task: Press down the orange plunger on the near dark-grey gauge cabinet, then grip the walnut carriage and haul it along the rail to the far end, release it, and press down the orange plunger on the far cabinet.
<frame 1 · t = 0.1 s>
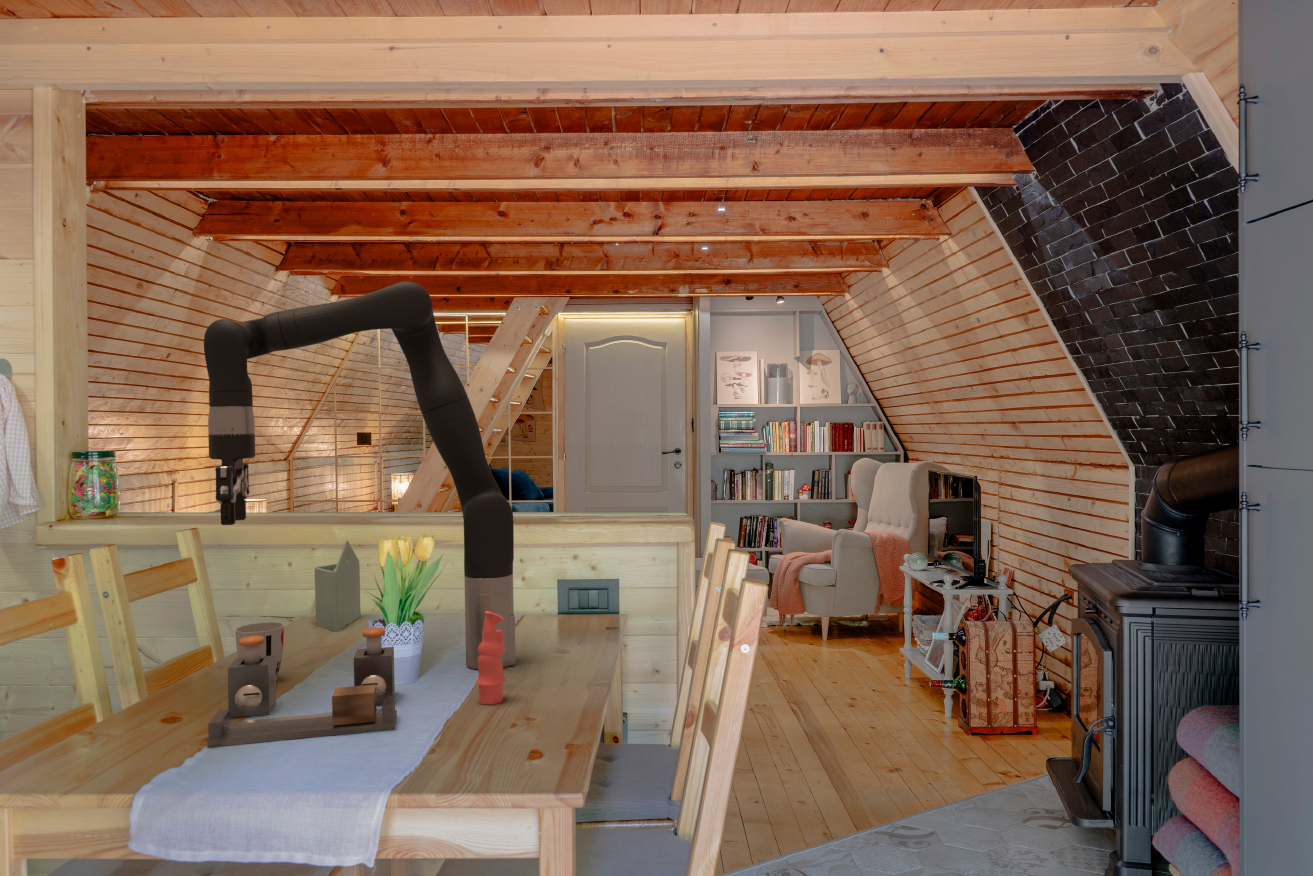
hand: (233, 522, 156), 29 cm above the table, fingers open, 8 cm apart
cabinet B: (253, 710, 142), on the table
carriage: (354, 704, 133), point 3 cm above the table, slide at 0.0 cm
plunger B: (251, 651, 142), point 10 cm above the table, slide at 0.0 cm
figurine: (491, 701, 145), on the table
cabinet A: (375, 699, 146), on the table
planter: (332, 625, 204), on the table
plunger A: (374, 642, 146), point 10 cm above the table, slide at 0.0 cm
cup: (261, 683, 158), on the table
rail: (306, 731, 131), on the table
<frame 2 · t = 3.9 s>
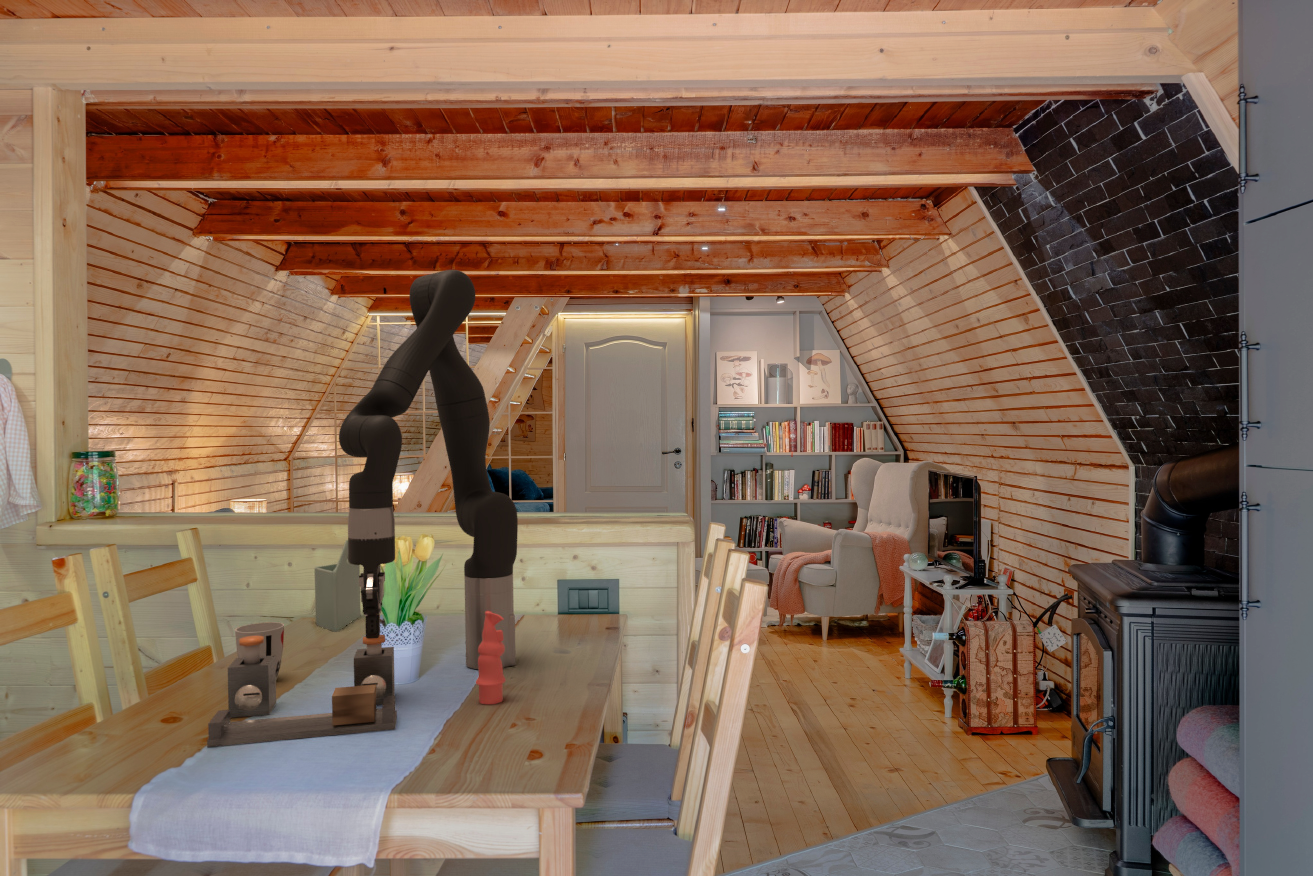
hand: (373, 637, 146), 11 cm above the table, fingers closed
plunger A: (374, 649, 146), point 8 cm above the table, slide at 1.2 cm, touching gripper
everything else where it was.
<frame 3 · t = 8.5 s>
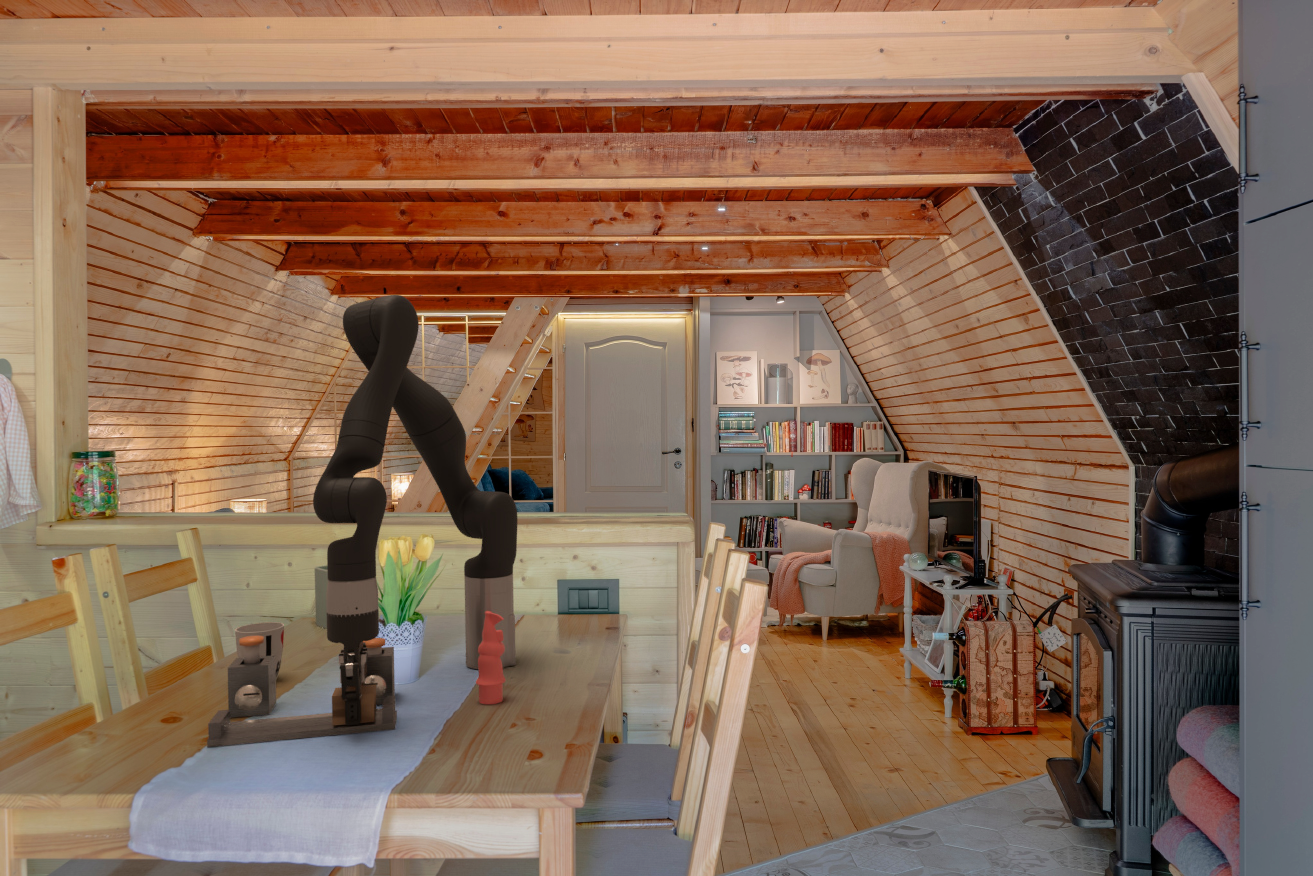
hand: (354, 718, 133), 1 cm above the table, fingers closed on carriage, 4 cm apart
carriage: (354, 704, 133), point 3 cm above the table, slide at 0.0 cm, touching gripper
plunger A: (374, 653, 146), point 8 cm above the table, slide at 1.8 cm
everything else where it was.
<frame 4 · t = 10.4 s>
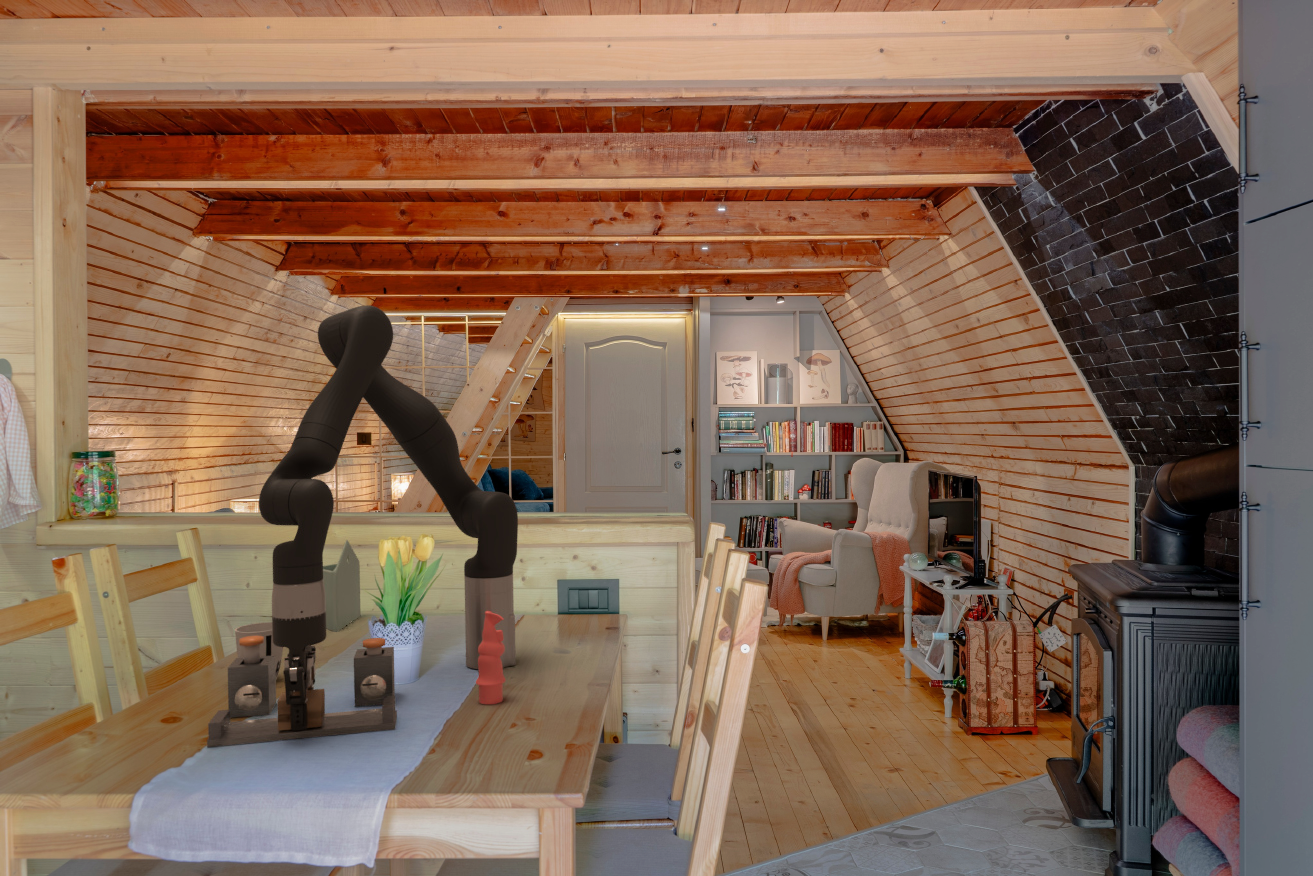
hand: (301, 723, 131), 1 cm above the table, fingers closed on carriage, 4 cm apart
carriage: (301, 709, 131), point 3 cm above the table, slide at 7.6 cm, touching gripper
everything else where it was.
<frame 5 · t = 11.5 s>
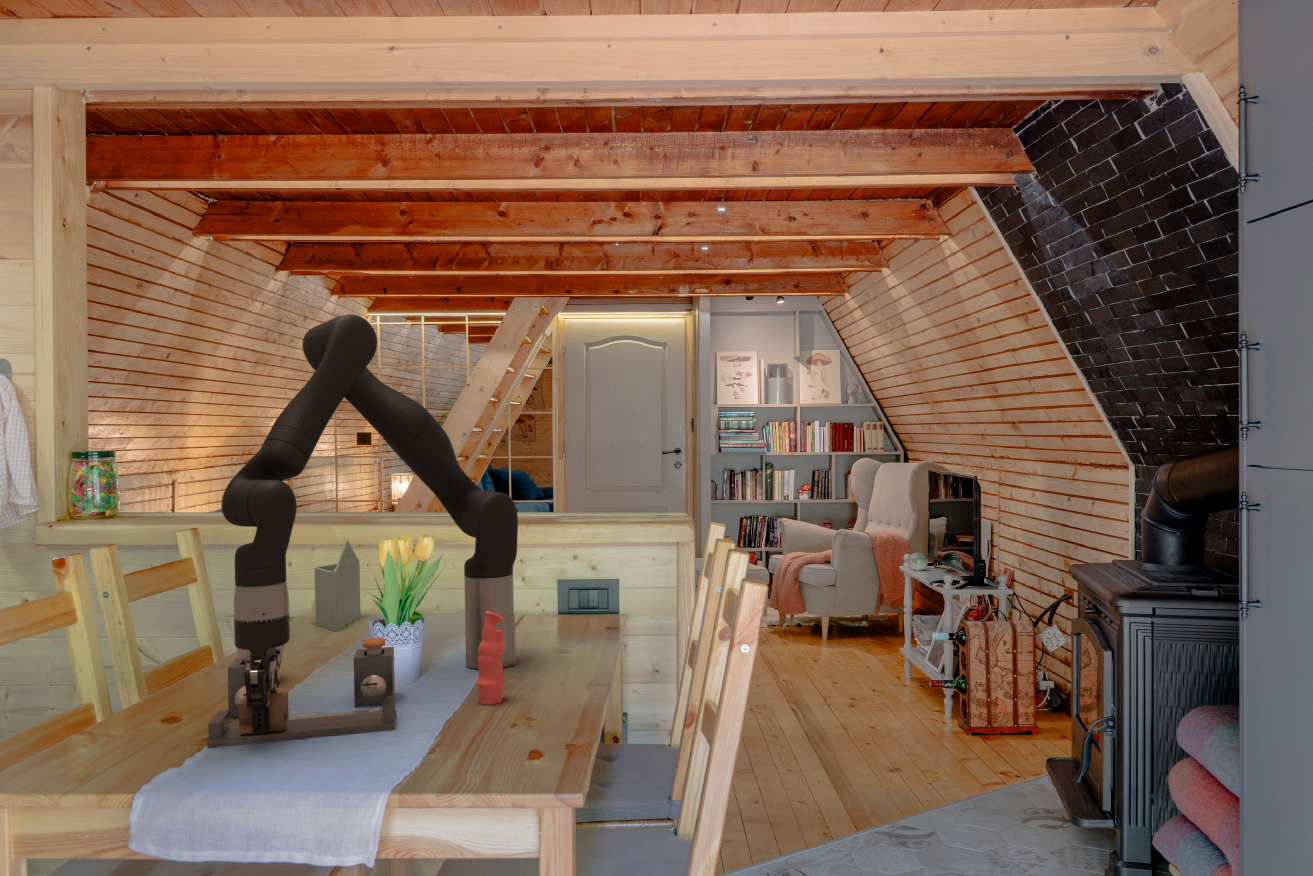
hand: (264, 726, 130), 1 cm above the table, fingers closed on carriage, 4 cm apart
carriage: (264, 712, 130), point 3 cm above the table, slide at 12.8 cm, touching gripper
everything else where it was.
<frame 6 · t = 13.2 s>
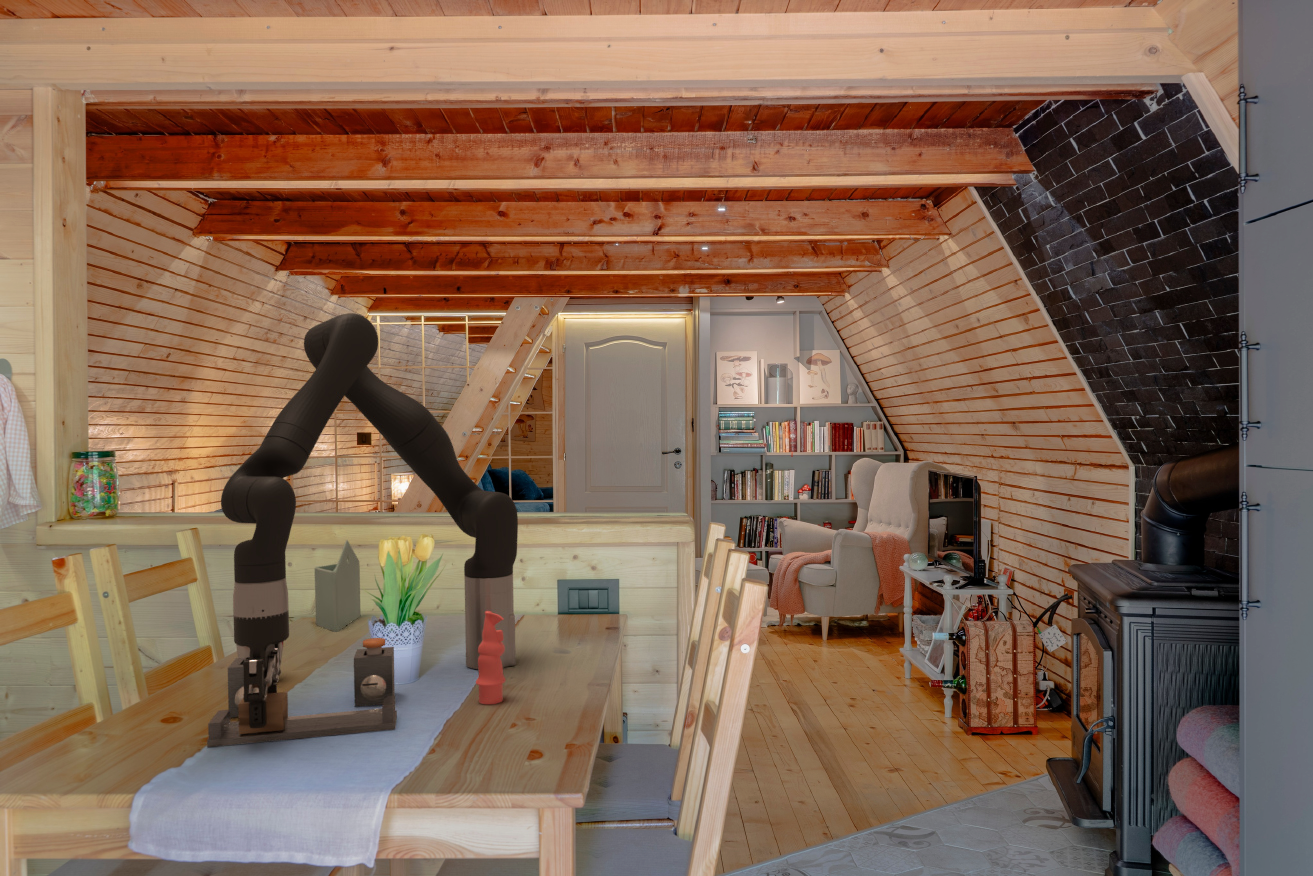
hand: (264, 717, 130), 3 cm above the table, fingers open, 8 cm apart
carriage: (263, 712, 130), point 3 cm above the table, slide at 12.9 cm
everything else where it was.
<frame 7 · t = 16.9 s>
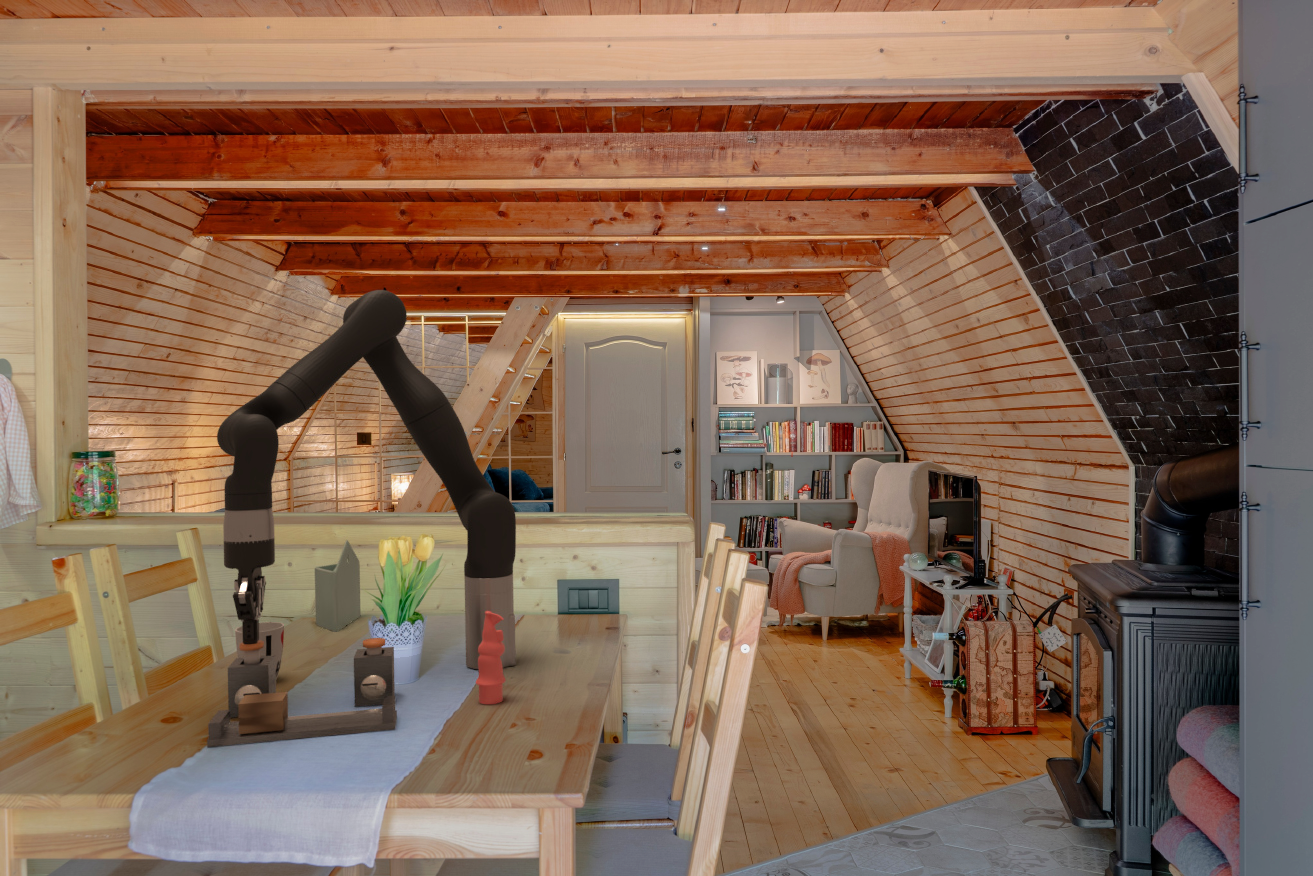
hand: (251, 642, 142), 11 cm above the table, fingers closed
plunger B: (251, 655, 142), point 9 cm above the table, slide at 0.8 cm, touching gripper
everything else where it was.
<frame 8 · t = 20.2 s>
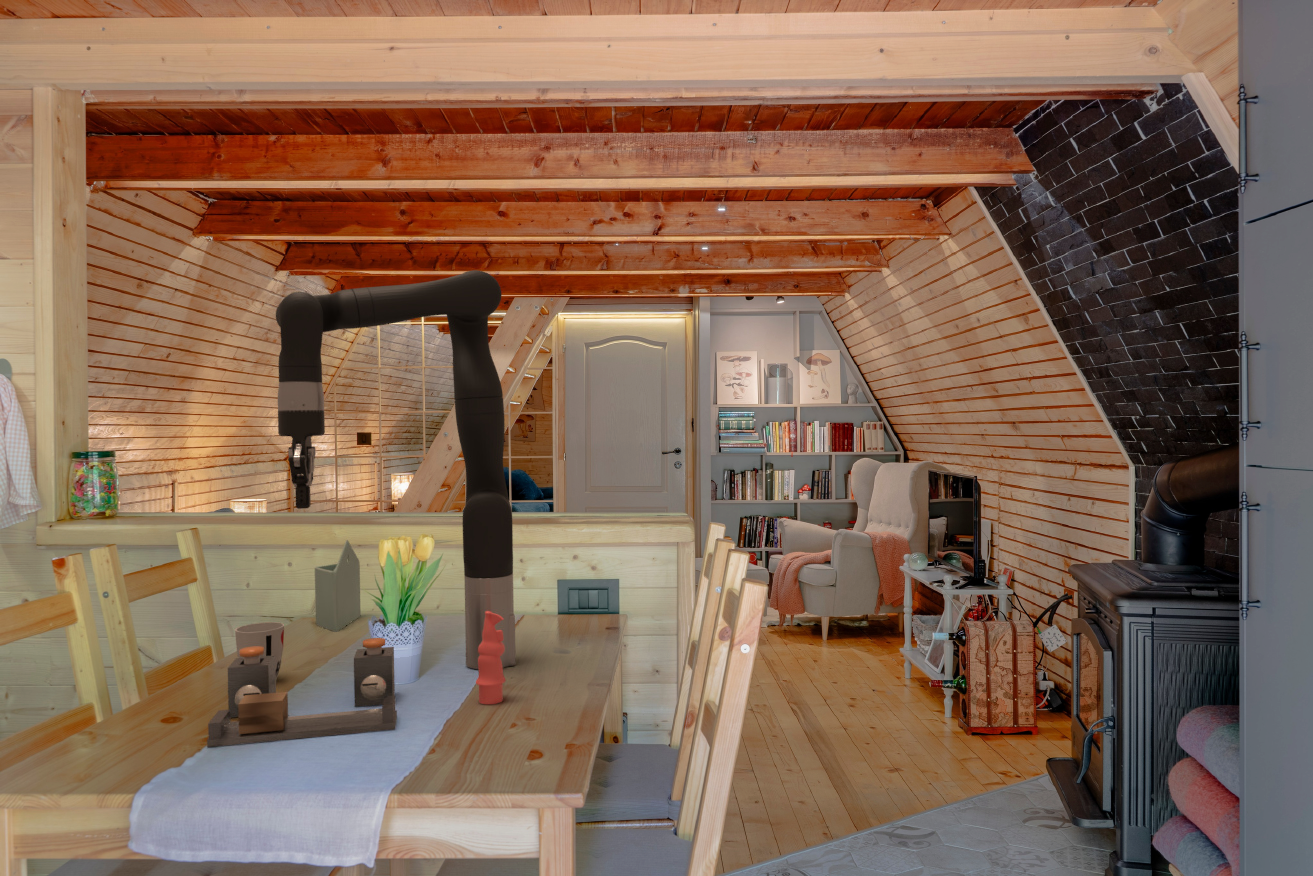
hand: (303, 508, 152), 32 cm above the table, fingers closed
plunger B: (252, 661, 142), point 8 cm above the table, slide at 1.8 cm
everything else where it was.
at the end: carriage slide at 12.9 cm; plunger A slide at 1.8 cm; plunger B slide at 1.8 cm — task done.
